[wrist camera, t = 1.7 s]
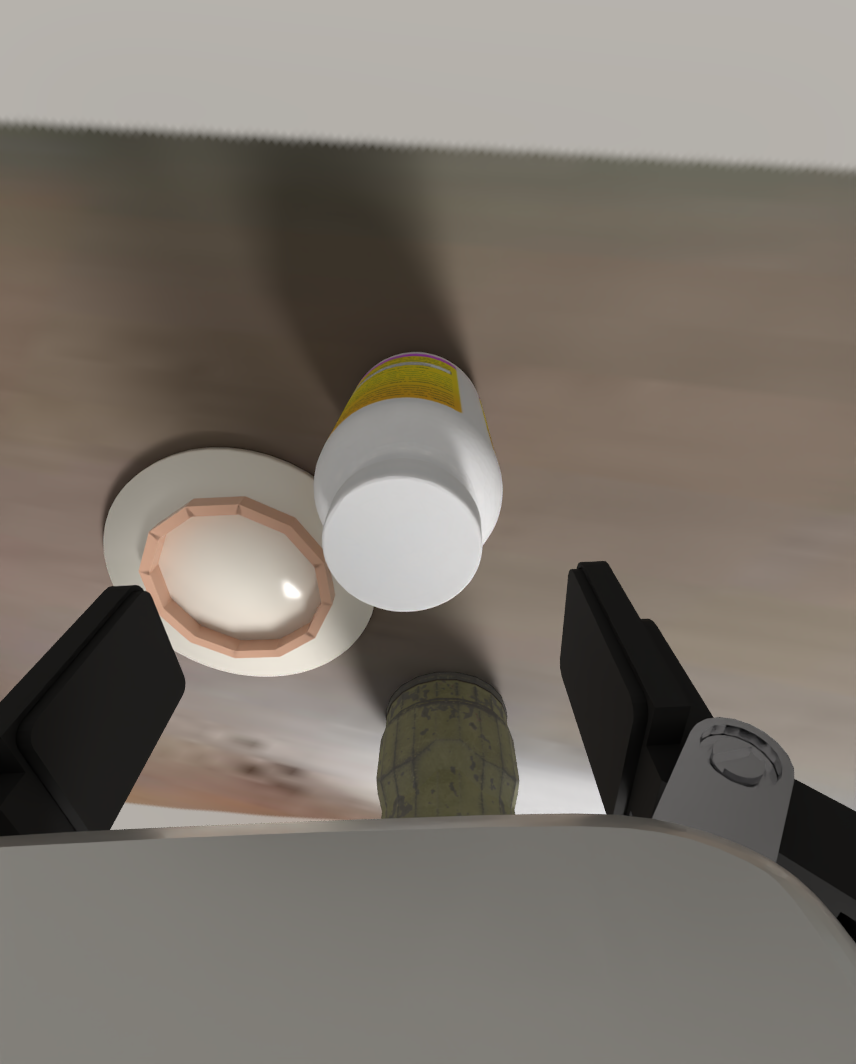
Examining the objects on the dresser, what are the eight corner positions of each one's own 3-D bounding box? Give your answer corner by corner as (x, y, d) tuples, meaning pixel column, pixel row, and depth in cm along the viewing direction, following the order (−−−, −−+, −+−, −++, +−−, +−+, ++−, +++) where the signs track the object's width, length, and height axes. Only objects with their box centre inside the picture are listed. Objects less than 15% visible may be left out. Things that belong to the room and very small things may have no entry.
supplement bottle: (324, 404, 25) (234, 527, 14) (429, 319, 23) (420, 382, 12) (406, 500, 28) (386, 668, 17) (507, 430, 26) (560, 568, 15)
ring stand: (360, 439, 26) (356, 450, 25) (389, 666, 34) (387, 684, 33) (64, 454, 27) (43, 465, 25) (159, 673, 35) (147, 691, 33)
